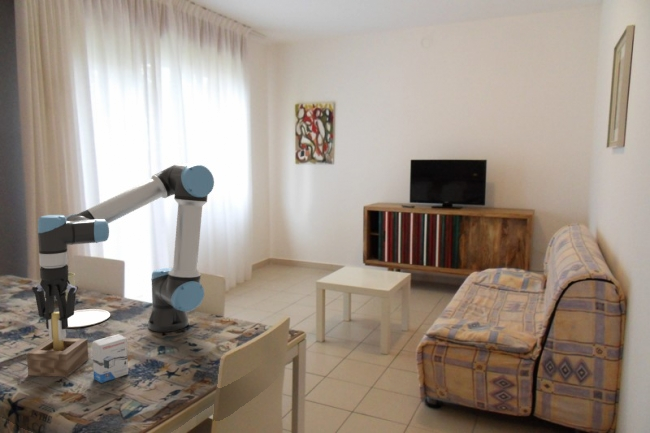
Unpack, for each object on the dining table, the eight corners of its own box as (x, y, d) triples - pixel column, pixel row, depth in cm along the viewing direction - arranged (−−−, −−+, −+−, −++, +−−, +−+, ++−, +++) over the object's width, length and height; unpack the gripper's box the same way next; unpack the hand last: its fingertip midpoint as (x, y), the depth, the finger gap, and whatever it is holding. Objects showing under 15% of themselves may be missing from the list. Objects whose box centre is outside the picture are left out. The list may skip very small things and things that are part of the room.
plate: (108, 326, 180) (108, 323, 180) (48, 332, 172) (48, 329, 172) (112, 309, 199) (111, 306, 199) (57, 314, 192) (57, 311, 191)
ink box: (100, 384, 134) (99, 346, 132) (92, 378, 137) (91, 341, 135) (128, 374, 140) (127, 337, 139) (120, 368, 144) (119, 333, 142)
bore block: (88, 359, 150) (87, 338, 149) (67, 376, 138) (66, 354, 137) (52, 358, 150) (51, 337, 149) (28, 375, 138) (26, 353, 137)
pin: (65, 347, 145) (63, 311, 143) (60, 351, 142) (58, 314, 140) (56, 347, 145) (54, 311, 143) (51, 351, 142) (49, 314, 140)
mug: (54, 298, 212) (53, 273, 210) (78, 296, 215) (76, 272, 213) (47, 305, 201) (46, 279, 200) (72, 303, 204) (71, 278, 203)
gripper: (85, 263, 143) (88, 334, 146) (37, 261, 144) (41, 333, 147) (71, 268, 136) (75, 344, 139) (21, 267, 136) (25, 342, 139)
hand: (57, 338), depth 143 cm, fingers closed on pin, 2 cm apart
